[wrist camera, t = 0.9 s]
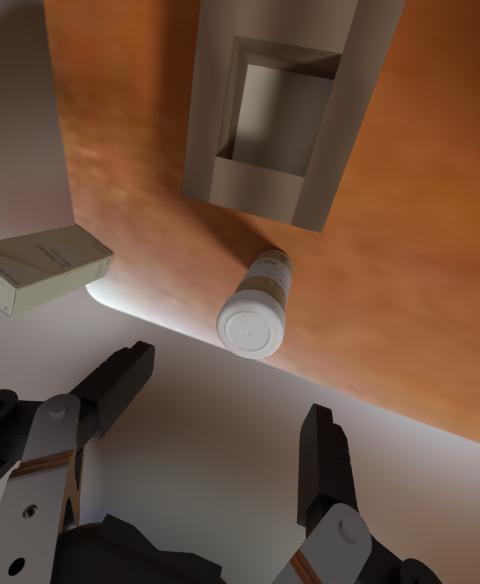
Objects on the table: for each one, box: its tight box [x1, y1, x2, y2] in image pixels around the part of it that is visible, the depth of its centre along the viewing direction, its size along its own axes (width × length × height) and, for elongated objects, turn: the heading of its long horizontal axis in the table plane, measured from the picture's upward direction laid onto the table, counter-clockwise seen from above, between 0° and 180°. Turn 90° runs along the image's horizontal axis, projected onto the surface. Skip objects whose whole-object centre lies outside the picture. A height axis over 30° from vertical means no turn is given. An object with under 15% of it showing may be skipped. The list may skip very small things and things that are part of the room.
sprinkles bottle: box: [216, 249, 293, 359], centre depth 22 cm, size 5×5×14 cm
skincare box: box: [0, 225, 113, 319], centre depth 28 cm, size 6×4×12 cm
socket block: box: [181, 0, 406, 233], centre depth 20 cm, size 12×14×6 cm
